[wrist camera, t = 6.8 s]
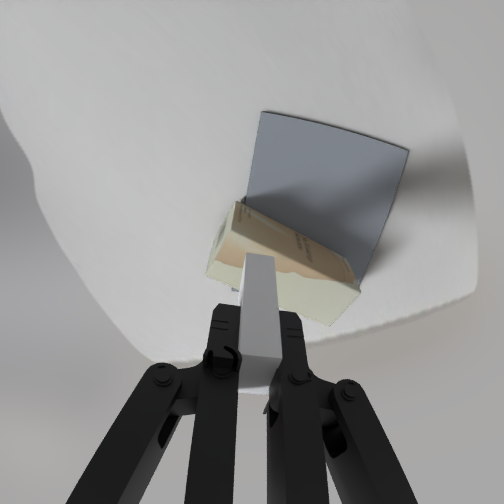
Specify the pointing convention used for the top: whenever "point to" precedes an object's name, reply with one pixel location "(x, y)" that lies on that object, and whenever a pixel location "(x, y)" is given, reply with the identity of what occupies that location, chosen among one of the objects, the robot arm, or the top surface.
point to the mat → (325, 184)
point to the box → (284, 264)
